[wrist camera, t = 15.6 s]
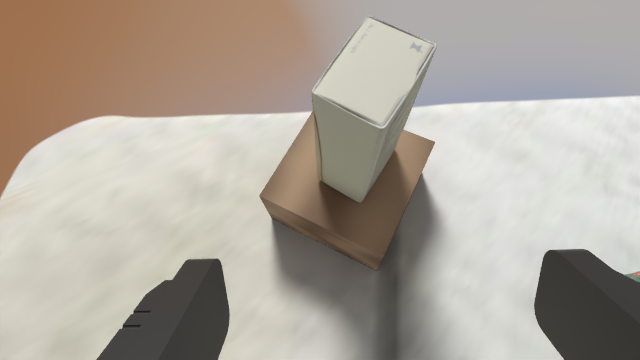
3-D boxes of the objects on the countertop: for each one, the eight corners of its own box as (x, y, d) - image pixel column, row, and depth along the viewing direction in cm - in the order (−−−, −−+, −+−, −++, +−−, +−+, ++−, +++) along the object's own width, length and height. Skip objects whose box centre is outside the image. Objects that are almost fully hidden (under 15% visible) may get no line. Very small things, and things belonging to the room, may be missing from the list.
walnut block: (420, 172, 35) (435, 142, 30) (376, 271, 31) (383, 256, 26) (324, 132, 38) (321, 97, 33) (272, 219, 34) (259, 195, 29)
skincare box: (353, 124, 31) (367, 9, 19) (398, 148, 30) (441, 41, 18) (314, 181, 29) (306, 89, 18) (361, 208, 28) (384, 129, 17)
